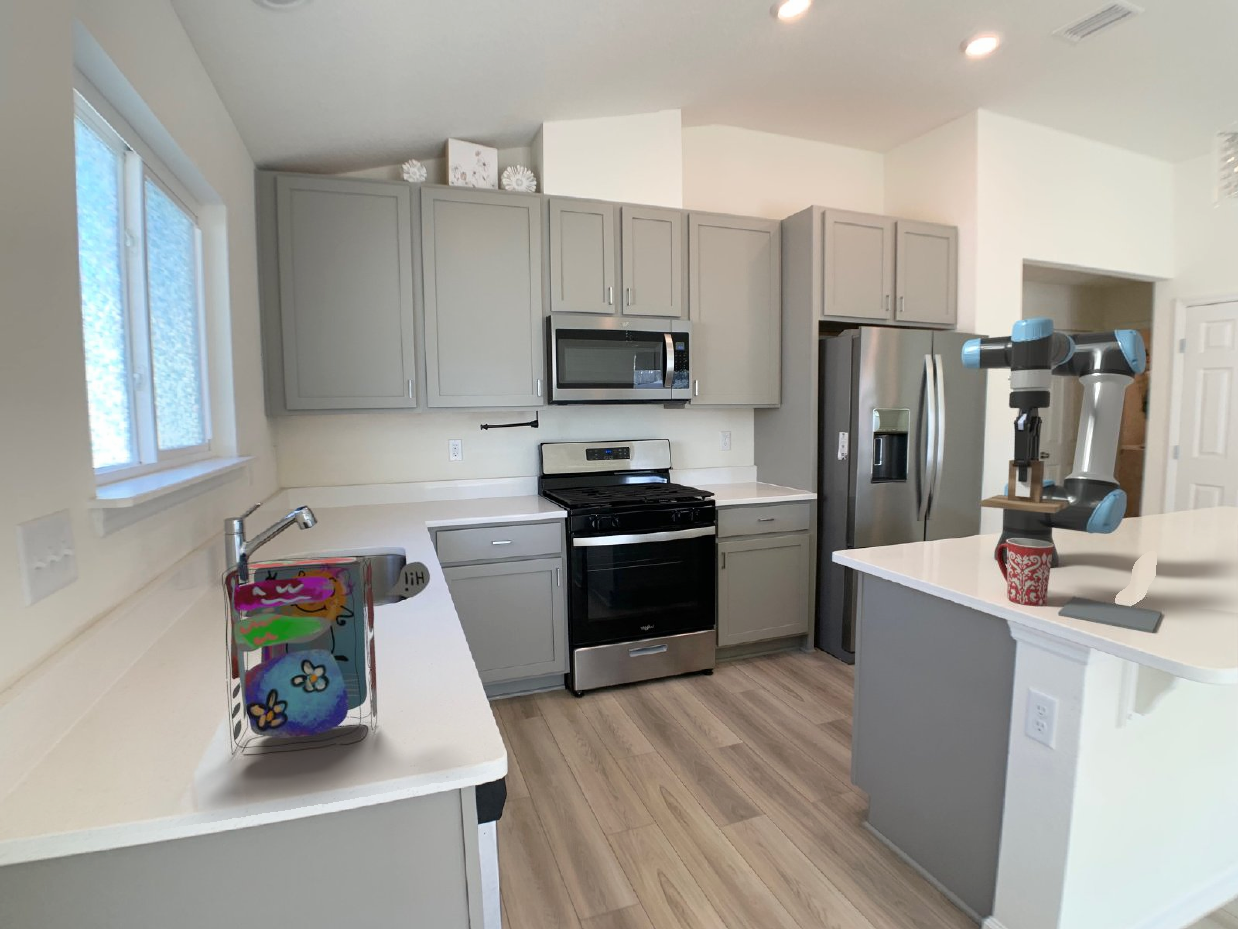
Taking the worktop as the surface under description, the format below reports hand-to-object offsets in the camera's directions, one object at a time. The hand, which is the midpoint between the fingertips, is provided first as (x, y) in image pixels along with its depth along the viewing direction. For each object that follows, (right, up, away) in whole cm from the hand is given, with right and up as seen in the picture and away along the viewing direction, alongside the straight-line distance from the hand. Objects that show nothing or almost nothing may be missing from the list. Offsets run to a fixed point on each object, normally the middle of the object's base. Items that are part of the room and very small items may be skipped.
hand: (1025, 495), depth 137 cm
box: (-129, -30, -53) cm, 143 cm away
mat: (+11, -24, -9) cm, 29 cm away
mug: (0, -24, +2) cm, 24 cm away
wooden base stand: (0, -2, 0) cm, 2 cm away
